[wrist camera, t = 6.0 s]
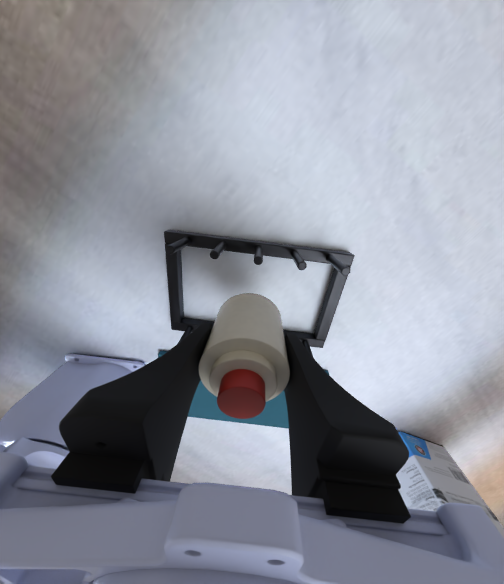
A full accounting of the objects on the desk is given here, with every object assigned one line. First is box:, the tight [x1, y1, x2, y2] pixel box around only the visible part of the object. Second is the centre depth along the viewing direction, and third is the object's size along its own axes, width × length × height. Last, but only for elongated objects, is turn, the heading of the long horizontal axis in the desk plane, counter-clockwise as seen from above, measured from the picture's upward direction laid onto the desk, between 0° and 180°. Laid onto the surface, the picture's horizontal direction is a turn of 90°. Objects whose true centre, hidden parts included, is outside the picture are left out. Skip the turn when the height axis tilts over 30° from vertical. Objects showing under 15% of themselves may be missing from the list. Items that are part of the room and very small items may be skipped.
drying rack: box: [164, 230, 354, 357], centre depth 17 cm, size 16×10×4 cm, turn 84°
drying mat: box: [158, 351, 329, 428], centre depth 25 cm, size 20×11×1 cm, turn 84°
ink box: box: [396, 432, 504, 538], centre depth 22 cm, size 8×5×15 cm, turn 66°
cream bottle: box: [199, 293, 290, 419], centre depth 12 cm, size 5×5×7 cm
